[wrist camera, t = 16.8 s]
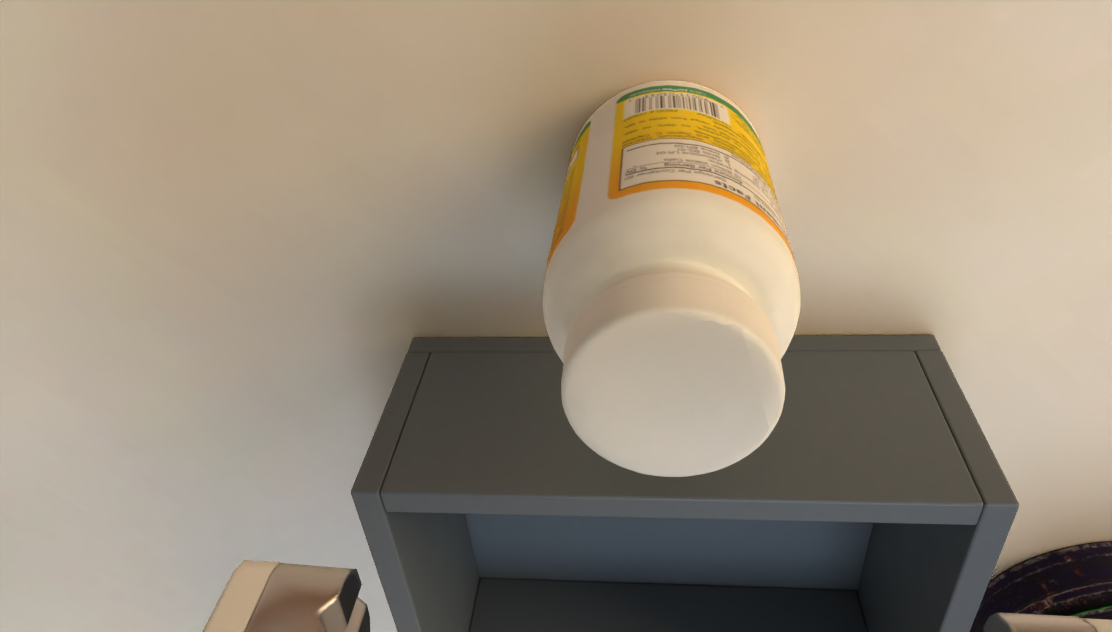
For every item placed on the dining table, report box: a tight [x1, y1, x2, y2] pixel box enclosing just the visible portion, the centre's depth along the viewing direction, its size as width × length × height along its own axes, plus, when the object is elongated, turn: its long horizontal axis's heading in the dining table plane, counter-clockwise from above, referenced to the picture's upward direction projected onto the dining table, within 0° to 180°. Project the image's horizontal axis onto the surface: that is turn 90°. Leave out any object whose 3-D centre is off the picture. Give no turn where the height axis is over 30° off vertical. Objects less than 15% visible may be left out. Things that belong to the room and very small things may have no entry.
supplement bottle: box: [542, 80, 801, 477], centre depth 18 cm, size 5×5×10 cm
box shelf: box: [351, 335, 1019, 632], centre depth 26 cm, size 17×13×7 cm
